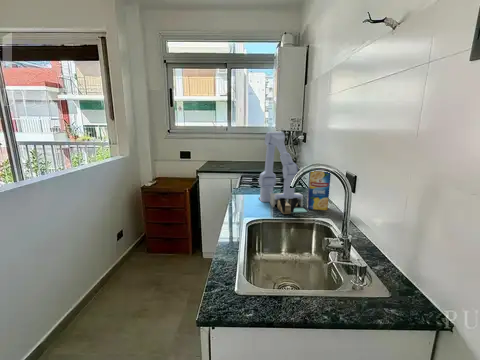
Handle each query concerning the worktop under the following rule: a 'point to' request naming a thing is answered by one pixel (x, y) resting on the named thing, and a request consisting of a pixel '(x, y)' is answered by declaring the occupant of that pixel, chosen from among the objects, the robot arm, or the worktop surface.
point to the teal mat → (299, 210)
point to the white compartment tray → (275, 201)
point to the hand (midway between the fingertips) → (287, 211)
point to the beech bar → (287, 208)
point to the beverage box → (318, 190)
